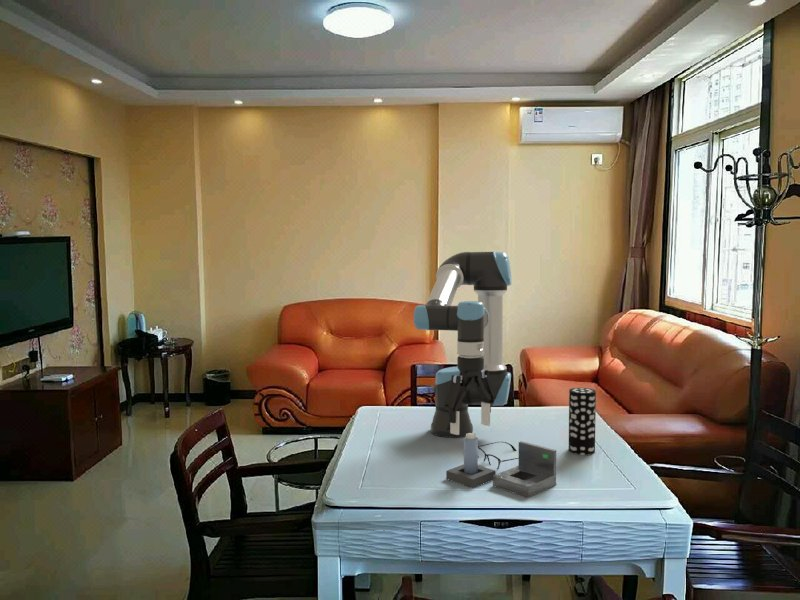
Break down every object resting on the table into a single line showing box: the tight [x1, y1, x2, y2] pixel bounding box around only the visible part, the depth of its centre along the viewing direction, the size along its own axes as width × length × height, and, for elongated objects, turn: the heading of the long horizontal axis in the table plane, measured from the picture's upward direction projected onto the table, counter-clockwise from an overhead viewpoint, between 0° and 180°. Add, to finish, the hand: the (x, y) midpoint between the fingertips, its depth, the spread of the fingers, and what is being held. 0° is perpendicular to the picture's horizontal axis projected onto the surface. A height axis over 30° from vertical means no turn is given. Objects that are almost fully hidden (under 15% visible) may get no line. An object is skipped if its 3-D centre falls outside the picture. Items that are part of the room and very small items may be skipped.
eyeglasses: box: [478, 441, 519, 470], centre depth 208 cm, size 16×16×4 cm
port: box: [492, 440, 557, 499], centre depth 186 cm, size 12×13×10 cm
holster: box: [445, 463, 496, 489], centre depth 192 cm, size 10×10×2 cm
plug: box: [463, 432, 479, 475], centre depth 191 cm, size 4×4×13 cm
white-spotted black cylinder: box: [568, 387, 597, 456], centre depth 215 cm, size 8×8×20 cm
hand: (470, 429), depth 190 cm, fingers open, 13 cm apart
